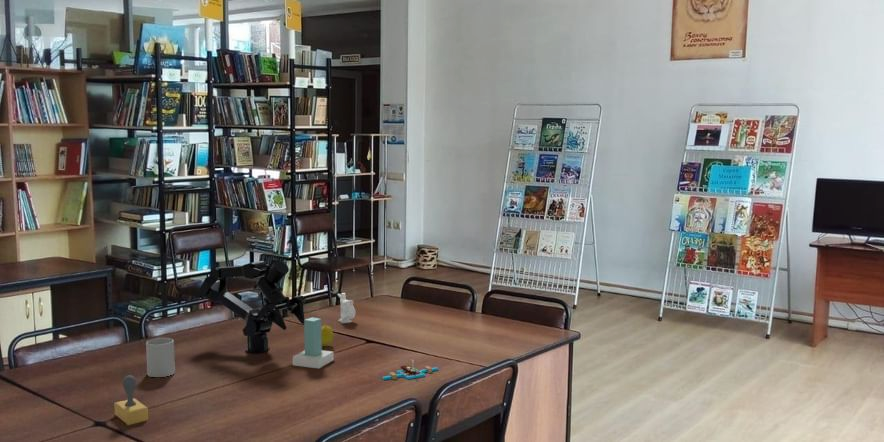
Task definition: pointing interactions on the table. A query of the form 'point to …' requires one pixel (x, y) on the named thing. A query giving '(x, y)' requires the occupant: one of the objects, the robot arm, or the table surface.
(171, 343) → the mug
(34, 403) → the table surface
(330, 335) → the lemon
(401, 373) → the gear mechanism
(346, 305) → the white upright figurine
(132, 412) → the rubber stamp
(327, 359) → the plinth
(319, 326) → the pillar
